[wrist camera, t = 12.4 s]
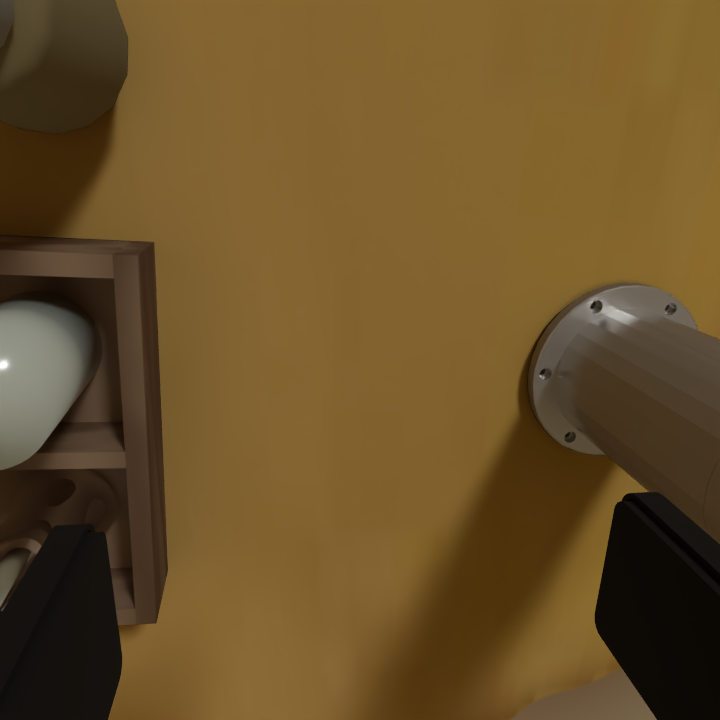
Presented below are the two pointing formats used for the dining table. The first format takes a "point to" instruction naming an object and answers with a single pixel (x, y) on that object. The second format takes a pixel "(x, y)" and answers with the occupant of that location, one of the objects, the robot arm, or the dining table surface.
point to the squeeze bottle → (60, 62)
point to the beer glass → (50, 517)
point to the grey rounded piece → (41, 368)
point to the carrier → (106, 400)
